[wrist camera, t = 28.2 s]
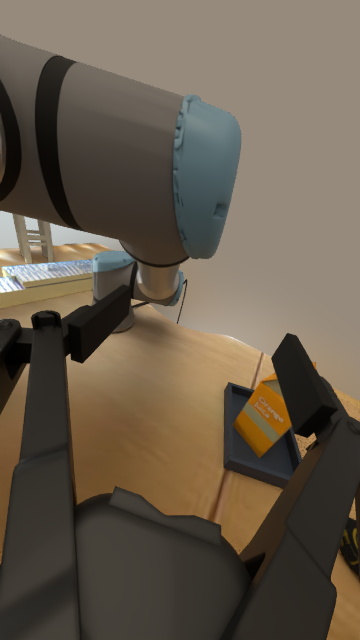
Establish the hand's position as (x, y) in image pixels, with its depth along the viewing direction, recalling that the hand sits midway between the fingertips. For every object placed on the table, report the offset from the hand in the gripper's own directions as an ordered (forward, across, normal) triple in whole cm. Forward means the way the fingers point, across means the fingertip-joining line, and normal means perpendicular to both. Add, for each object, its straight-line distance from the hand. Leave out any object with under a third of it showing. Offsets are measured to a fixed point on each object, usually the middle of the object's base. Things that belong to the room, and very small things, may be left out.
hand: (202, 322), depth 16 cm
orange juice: (+15, +20, -31) cm, 40 cm away
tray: (+15, +20, -32) cm, 40 cm away
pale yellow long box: (+46, -58, -32) cm, 81 cm away
